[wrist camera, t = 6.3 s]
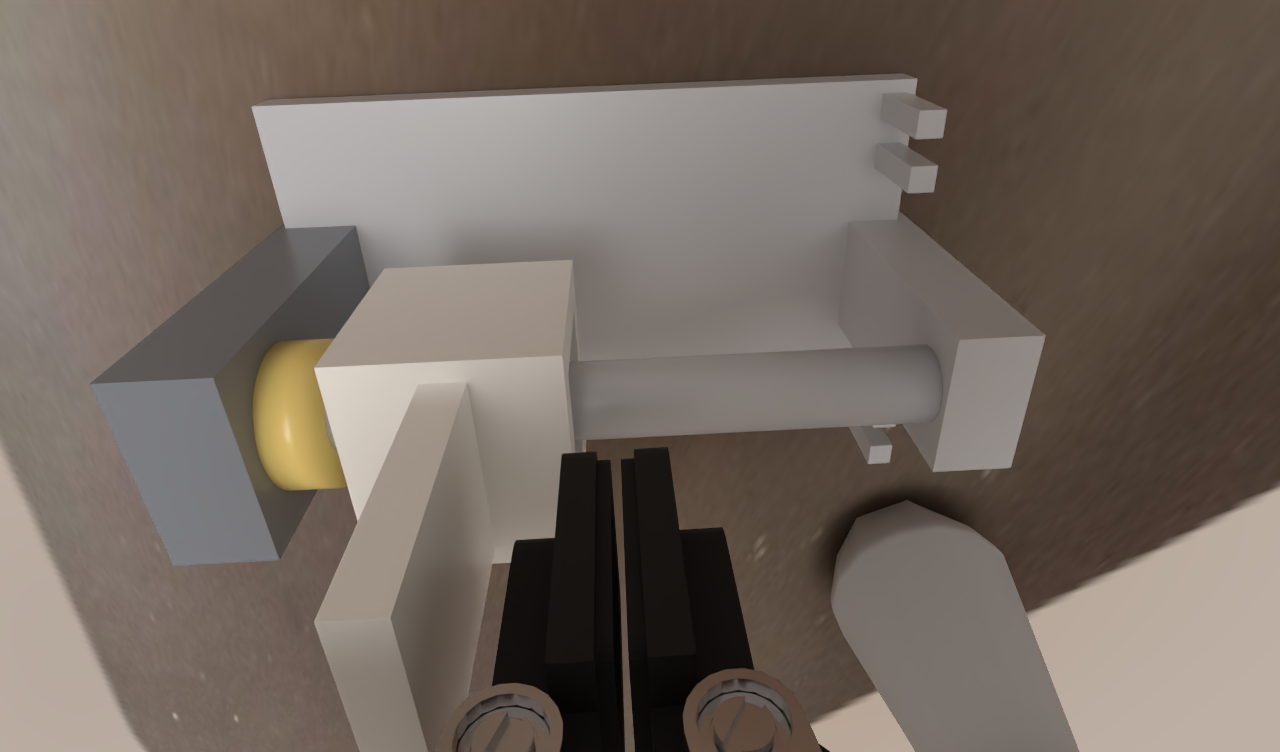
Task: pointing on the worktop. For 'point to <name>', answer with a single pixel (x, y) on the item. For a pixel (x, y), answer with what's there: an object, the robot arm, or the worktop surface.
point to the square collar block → (439, 476)
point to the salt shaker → (945, 635)
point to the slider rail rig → (586, 283)
